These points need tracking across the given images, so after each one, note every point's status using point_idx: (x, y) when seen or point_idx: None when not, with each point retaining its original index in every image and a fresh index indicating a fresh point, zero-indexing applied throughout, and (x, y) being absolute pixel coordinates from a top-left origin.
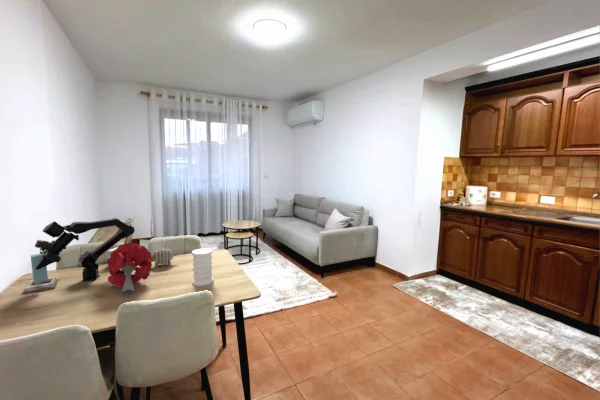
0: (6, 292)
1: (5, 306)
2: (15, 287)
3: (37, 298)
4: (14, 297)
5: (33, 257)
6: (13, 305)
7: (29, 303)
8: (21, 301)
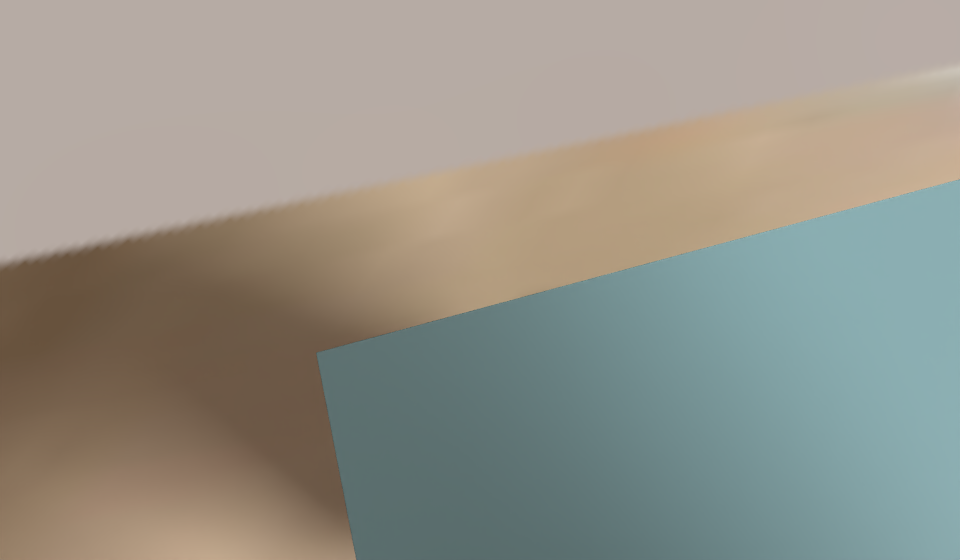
0: (767, 113)
1: (199, 222)
2: (947, 168)
3: (245, 555)
4: (492, 247)
5: (377, 465)
6: (169, 301)
7: (101, 481)
8: (262, 363)
